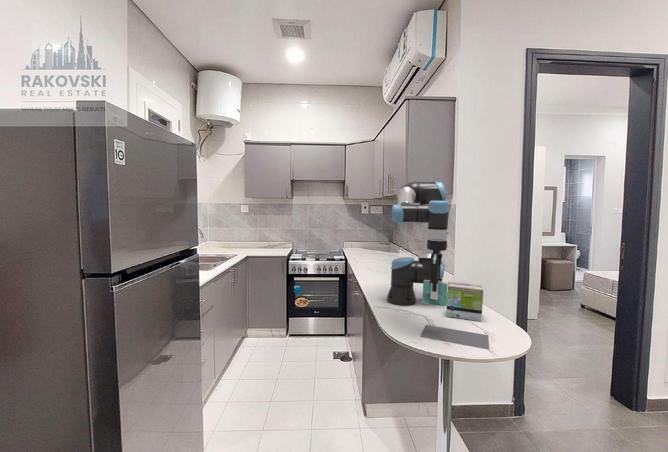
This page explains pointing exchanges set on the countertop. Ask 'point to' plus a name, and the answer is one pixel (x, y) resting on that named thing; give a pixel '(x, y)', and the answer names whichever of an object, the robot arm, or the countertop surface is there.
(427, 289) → the tile
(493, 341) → the countertop surface
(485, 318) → the countertop surface
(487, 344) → the mat
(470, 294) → the tea box
